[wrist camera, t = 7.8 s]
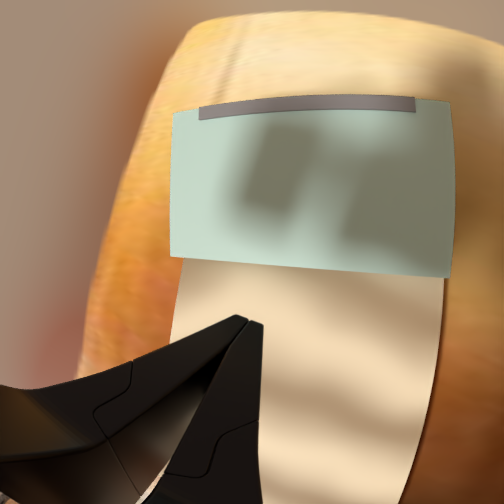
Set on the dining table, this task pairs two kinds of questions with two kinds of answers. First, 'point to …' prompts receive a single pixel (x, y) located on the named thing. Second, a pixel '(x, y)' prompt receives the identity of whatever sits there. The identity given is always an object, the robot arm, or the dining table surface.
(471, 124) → the dining table surface
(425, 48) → the dining table surface
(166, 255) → the dining table surface
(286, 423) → the beige flat square pad
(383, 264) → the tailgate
